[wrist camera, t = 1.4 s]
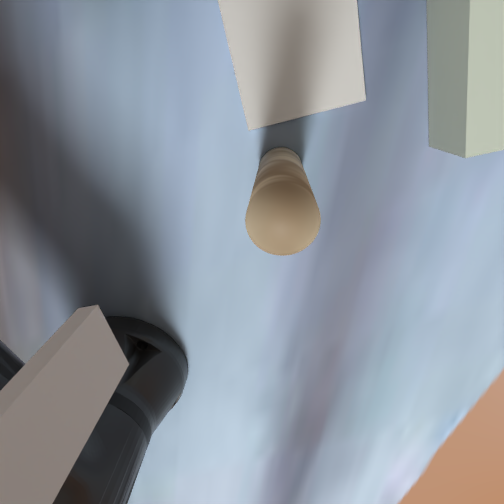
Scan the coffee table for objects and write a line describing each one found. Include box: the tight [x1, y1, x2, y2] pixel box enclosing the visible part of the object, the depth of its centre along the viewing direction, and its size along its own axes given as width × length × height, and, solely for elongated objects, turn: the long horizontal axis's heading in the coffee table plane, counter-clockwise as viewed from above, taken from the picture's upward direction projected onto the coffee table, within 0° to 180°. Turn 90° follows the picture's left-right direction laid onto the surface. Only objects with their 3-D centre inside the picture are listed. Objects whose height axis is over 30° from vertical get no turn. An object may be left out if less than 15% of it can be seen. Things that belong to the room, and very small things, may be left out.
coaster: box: [218, 0, 366, 131], centre depth 25 cm, size 10×10×1 cm
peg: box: [245, 147, 321, 255], centre depth 23 cm, size 4×4×14 cm
